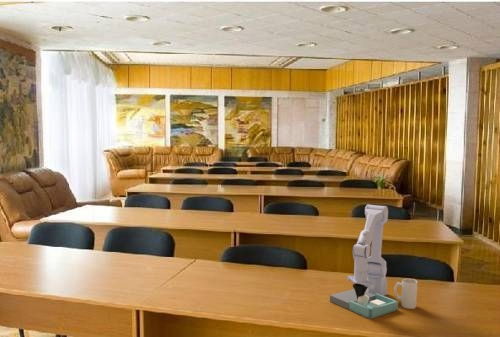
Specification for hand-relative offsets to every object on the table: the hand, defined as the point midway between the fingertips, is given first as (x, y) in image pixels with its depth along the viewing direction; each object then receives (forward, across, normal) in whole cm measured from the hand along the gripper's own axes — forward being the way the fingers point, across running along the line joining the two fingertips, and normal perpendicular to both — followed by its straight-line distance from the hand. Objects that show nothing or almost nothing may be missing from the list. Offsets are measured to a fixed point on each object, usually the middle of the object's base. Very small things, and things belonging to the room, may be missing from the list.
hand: (360, 299), depth 213 cm
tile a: (+1, +4, +7) cm, 8 cm away
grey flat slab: (+4, -8, +4) cm, 9 cm away
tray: (+4, +5, +4) cm, 7 cm away
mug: (+4, +9, +20) cm, 22 cm away
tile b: (0, +1, 0) cm, 1 cm away
